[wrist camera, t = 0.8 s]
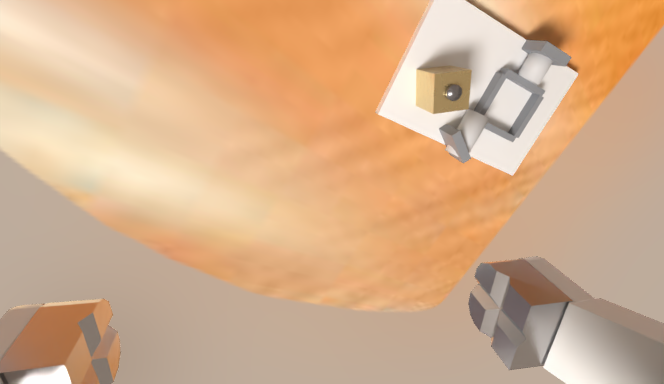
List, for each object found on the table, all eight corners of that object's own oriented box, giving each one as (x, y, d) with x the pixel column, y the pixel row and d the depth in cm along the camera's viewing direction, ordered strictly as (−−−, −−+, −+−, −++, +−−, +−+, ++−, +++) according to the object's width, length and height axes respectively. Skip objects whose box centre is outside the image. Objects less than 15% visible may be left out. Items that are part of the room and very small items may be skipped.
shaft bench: (436, -14, 43) (457, -19, 38) (571, 72, 51) (601, 77, 47) (371, 118, 48) (383, 128, 43) (504, 178, 56) (525, 190, 52)
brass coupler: (416, 69, 45) (437, 74, 40) (450, 65, 46) (474, 70, 41) (415, 105, 47) (435, 115, 42) (448, 101, 48) (471, 110, 43)
